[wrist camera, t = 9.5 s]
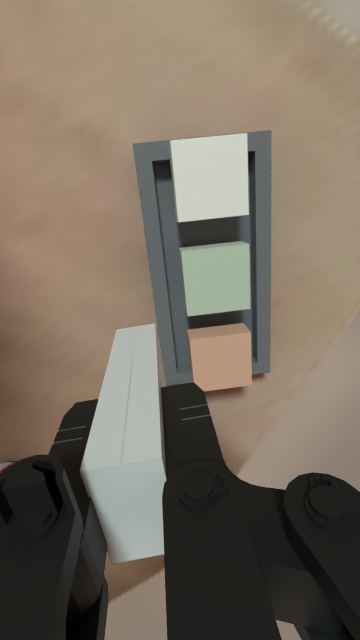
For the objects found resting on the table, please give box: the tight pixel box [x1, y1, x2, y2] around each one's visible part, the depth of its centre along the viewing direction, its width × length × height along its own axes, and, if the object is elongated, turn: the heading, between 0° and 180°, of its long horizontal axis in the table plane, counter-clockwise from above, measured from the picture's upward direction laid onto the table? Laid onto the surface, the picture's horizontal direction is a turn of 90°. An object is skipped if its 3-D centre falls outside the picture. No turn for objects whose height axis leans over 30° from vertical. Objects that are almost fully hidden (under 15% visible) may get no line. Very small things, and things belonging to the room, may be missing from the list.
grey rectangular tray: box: [133, 130, 271, 386], centre depth 26 cm, size 20×10×2 cm, turn 6°
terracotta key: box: [187, 323, 252, 391], centre depth 27 cm, size 5×5×4 cm
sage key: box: [179, 241, 251, 316], centre depth 24 cm, size 5×5×4 cm
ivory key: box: [169, 133, 249, 222], centre depth 22 cm, size 5×5×4 cm
